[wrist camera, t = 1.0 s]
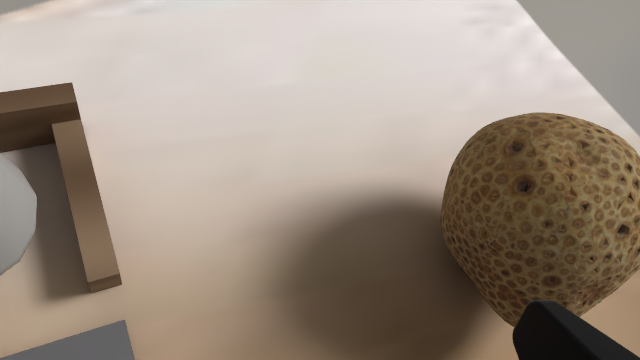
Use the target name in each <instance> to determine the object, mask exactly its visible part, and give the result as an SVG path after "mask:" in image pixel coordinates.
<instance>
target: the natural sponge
mask: <svg viewBox="0 0 640 360" xmlns="http://www.w3.org/2000/svg"><path fill="white" fill-rule="evenodd" d="M441 227H442V233H443V237H444V240H445V243H446V245H447V247H448V249H449V251H450V253H451V254H452V256H453V257H454V258H455V260H456V261H457V263H458V264H459V265H460V267H461V268H462V270H463V271H464V272H465V273H466V274H467V275H468V276H469V278H470V279H471V280H472V281H473V283H474V284H475V285H476V287H477V288H478V290H479V292H480V293H481V294H482V296H483V297H484V299H485V300H486V301H487V303H488V304H489V305H490V306H491V308H492V309H493V310H494V311H495V312H496V313H497V314H498V315H499V316H500V317H501V318H502V319H503V320H504V321H506V322H507V323H509V324H510V325H511V326H513V327H515V326H516V324H517V322H518V320H519V319H520V317H521V315H522V313H523V311H524V309H525V307H526V306H527V304H528V303H529V302H530V301H532V300H553V301H555V302H557V303H559V304H560V305H562V306H563V307H565V308H566V309H568V310H569V311H571V312H572V313H574V314H575V315H577V316H578V317H580V316H581V315H583V314H584V313H586V312H587V311H588V310H590V309H591V308H593V307H594V306H595V305H597V304H598V303H600V302H601V301H602V300H603V299H604V298H606V297H607V296H609V295H610V294H612V293H613V292H614V291H615V290H617V289H618V288H619V287H620V286H621V285H623V284H624V283H625V282H626V281H627V280H628V279H629V278H630V277H631V276H632V275H634V274H635V273H636V272H637V271H638V270H639V269H640V156H639V155H638V154H637V152H636V151H635V150H634V149H633V148H632V147H631V146H630V145H629V144H628V143H627V142H626V141H625V140H624V139H622V138H621V137H619V136H618V135H616V134H615V133H613V132H611V131H609V130H608V129H605V128H603V127H601V126H599V125H596V124H594V123H591V122H588V121H585V120H582V119H578V118H574V117H570V116H566V115H562V114H554V113H529V114H523V115H518V116H514V117H509V118H505V119H502V120H499V121H495V122H493V123H491V124H489V125H487V126H485V127H483V128H482V129H481V130H479V131H478V132H477V133H476V134H475V135H473V136H472V137H471V138H470V139H469V140H468V141H467V143H466V144H465V145H464V147H463V148H462V149H461V151H460V152H459V154H458V156H457V157H456V159H455V161H454V163H453V165H452V167H451V170H450V172H449V175H448V179H447V182H446V187H445V191H444V196H443V202H442V210H441Z"/></svg>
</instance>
